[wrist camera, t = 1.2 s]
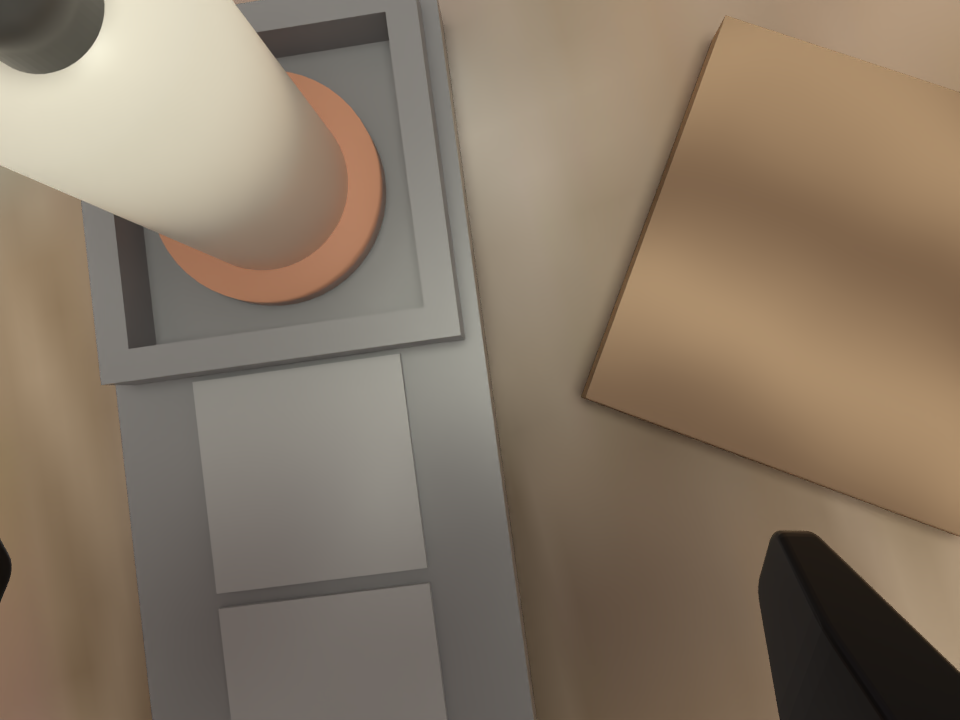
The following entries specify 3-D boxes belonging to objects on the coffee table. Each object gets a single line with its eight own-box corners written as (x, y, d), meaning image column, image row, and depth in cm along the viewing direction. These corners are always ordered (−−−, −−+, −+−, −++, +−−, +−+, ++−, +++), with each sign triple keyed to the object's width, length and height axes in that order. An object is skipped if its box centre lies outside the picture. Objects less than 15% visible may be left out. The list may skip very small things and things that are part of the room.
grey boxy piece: (554, 851, 21) (561, 941, 18) (208, 887, 22) (148, 982, 18) (442, 23, 22) (428, -45, 19) (116, 75, 23) (43, 18, 19)
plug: (284, 351, 20) (-33, 301, 9) (123, 207, 21) (-383, -24, 9) (432, 182, 20) (311, -94, 9) (267, 40, 21) (-57, -403, 9)
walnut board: (956, 535, 21) (989, 546, 20) (581, 396, 22) (585, 397, 20) (1087, 165, 21) (1130, 148, 20) (711, 40, 22) (725, 15, 21)
